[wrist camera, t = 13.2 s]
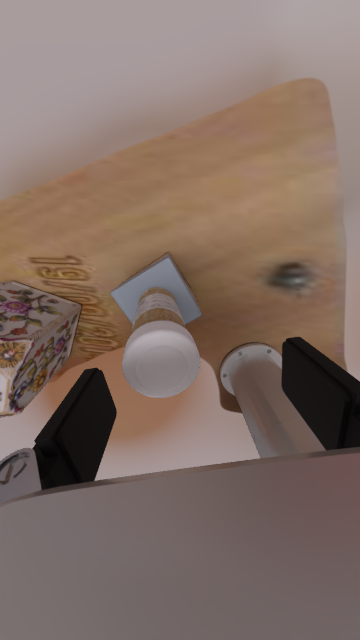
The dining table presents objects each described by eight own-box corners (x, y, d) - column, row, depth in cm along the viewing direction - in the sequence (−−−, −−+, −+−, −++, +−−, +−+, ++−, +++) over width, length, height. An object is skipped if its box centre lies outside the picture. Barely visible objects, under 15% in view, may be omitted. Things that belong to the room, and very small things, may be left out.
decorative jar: (84, 304, 34) (-1, 366, 17) (71, 358, 38) (-9, 453, 21) (9, 277, 32) (-172, 320, 15) (3, 338, 36) (-146, 425, 19)
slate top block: (197, 303, 29) (201, 315, 25) (151, 328, 31) (147, 344, 26) (169, 254, 27) (168, 257, 22) (120, 284, 28) (109, 293, 23)
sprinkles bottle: (158, 329, 25) (164, 413, 12) (129, 306, 23) (103, 374, 11) (184, 303, 24) (217, 364, 12) (155, 277, 23) (159, 315, 10)
